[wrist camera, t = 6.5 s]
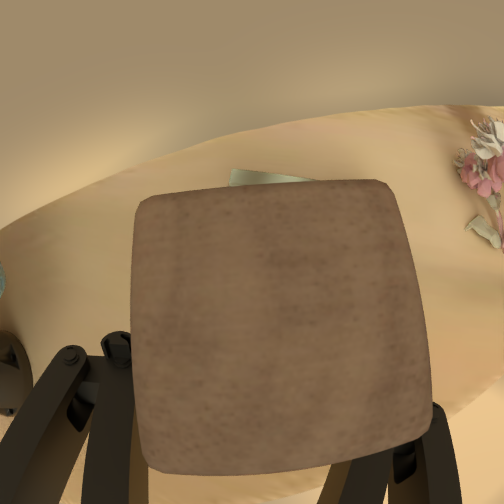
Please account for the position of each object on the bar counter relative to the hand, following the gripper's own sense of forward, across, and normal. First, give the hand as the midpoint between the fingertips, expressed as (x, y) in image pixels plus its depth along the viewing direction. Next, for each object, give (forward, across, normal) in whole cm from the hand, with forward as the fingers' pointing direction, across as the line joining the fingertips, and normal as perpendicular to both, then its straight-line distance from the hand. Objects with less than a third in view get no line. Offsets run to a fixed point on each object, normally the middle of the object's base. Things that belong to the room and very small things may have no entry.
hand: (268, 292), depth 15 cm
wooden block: (+3, -2, -8) cm, 8 cm away
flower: (+32, +34, +3) cm, 46 cm away
